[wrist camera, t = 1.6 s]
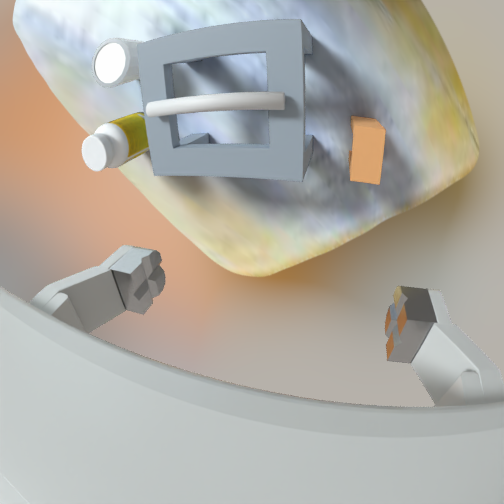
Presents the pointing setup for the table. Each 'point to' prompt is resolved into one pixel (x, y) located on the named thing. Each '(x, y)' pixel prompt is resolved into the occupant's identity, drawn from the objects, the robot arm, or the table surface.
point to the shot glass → (116, 62)
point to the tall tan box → (366, 150)
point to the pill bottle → (116, 142)
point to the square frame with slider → (229, 101)
